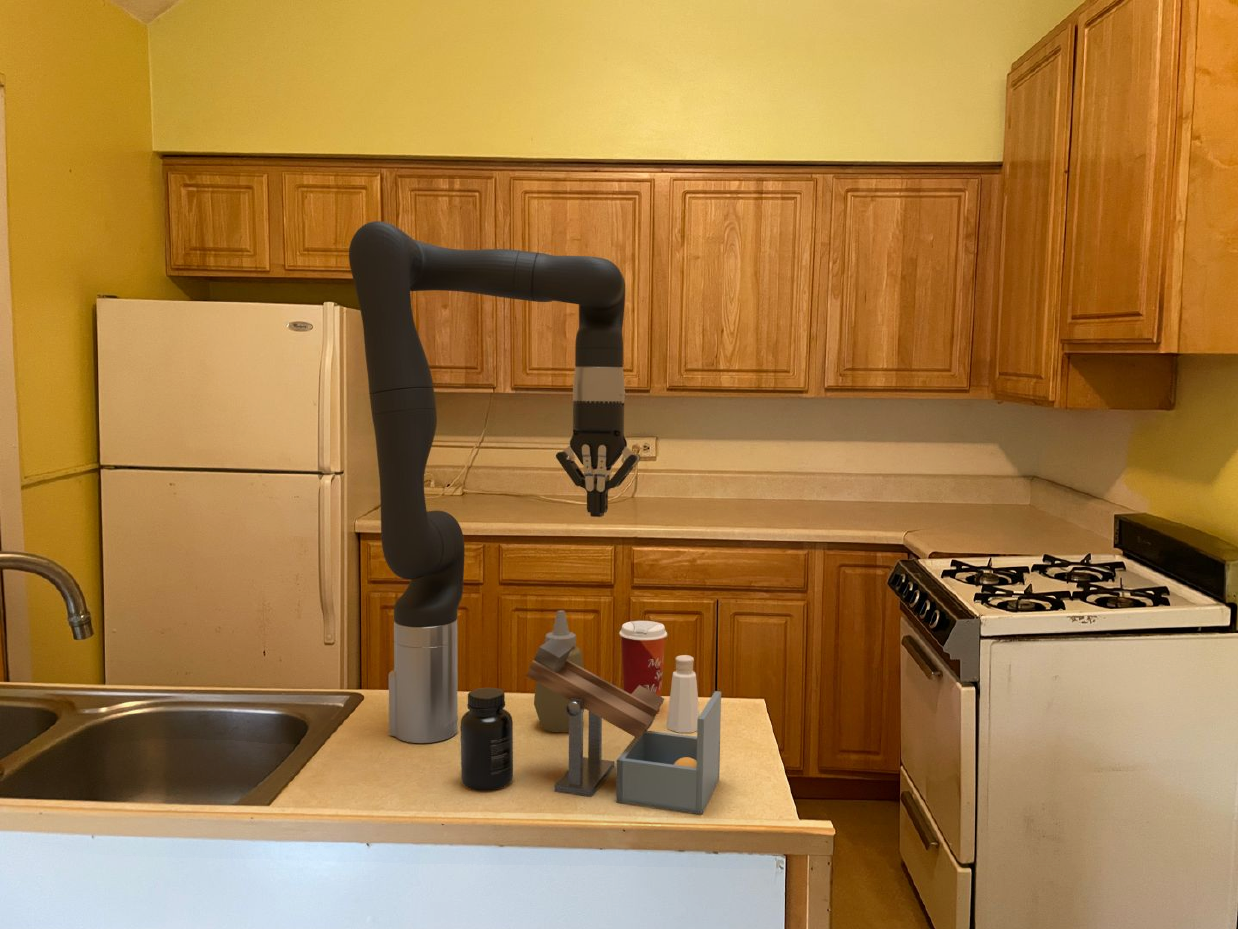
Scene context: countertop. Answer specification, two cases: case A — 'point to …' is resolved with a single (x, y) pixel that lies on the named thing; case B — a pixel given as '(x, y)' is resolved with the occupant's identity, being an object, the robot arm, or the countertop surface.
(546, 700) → the squeeze bottle
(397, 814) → the countertop surface
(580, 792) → the pivot stand
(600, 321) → the robot arm
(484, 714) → the supplement bottle
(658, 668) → the paper cup
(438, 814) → the countertop surface
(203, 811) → the countertop surface
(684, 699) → the salt shaker
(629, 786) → the cup
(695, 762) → the ball
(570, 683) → the lever
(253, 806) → the countertop surface
